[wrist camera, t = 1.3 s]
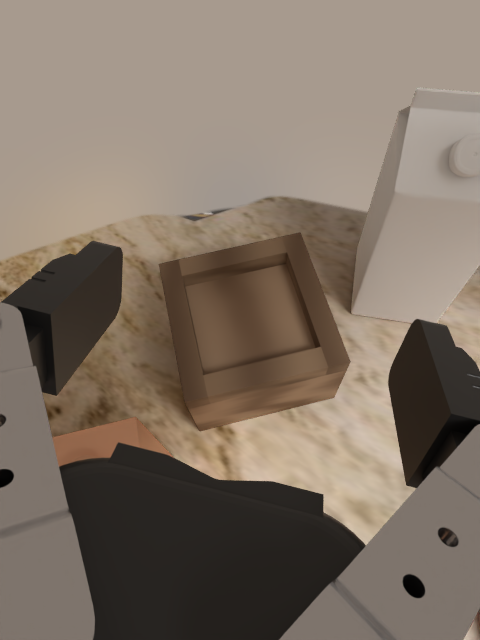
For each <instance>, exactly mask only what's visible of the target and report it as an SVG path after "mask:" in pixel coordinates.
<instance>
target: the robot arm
mask: <svg viewBox="0 0 480 640" xmlns="http://www.w3.org/2000/svg"><path fill="white" fill-rule="evenodd" d="M122 262H123V254H122V250H121V248H120V247H117V246H112V245H108V244H104V243H100V242H95V241H92V242H90V243H89V244H88V245H87V246H86V247H84V248H83V249H82V250H81V251H80V252H79V253H78V254H76V255H73V254H68V255H65V256H62V257H60V258H57V259H54V260H52V261H51V262H50V263H48V264H47V265H46V266H45V267H44V268H42V269H41V272H40V271H39V272H37V273H36V274H35V275H34V276H33V277H32V279H29V280H28V281H26V282H25V283H24V284H23V285H22V286H20V287H19V288H18V289H17V290H15V291H14V292H13V293H12V294H11V295H9V296H8V297H7V298H6V299H4V300H3V301H2V302H0V640H463V639H464V637H465V635H466V633H467V631H468V630H469V628H470V626H471V624H472V622H473V620H474V618H475V616H476V615H477V613H478V611H479V609H480V371H479V369H478V367H477V364H476V362H475V361H474V360H473V359H472V358H471V357H470V356H469V355H468V354H467V353H466V352H465V351H464V350H463V349H462V348H458V347H456V346H455V344H454V341H453V339H452V336H451V334H450V332H449V329H448V327H447V326H445V325H442V324H438V323H433V322H429V321H425V320H421V319H416V320H414V322H413V323H412V324H411V326H410V328H409V330H408V332H407V334H406V336H405V338H404V341H403V343H402V345H401V347H400V349H399V351H398V353H397V355H396V357H395V359H394V361H393V364H392V366H391V369H390V373H389V381H388V385H389V391H390V397H391V403H392V408H393V414H394V419H395V425H396V431H397V436H398V442H399V447H400V453H401V459H402V464H403V470H404V475H405V481H406V485H407V486H411V487H415V488H417V489H416V490H415V491H414V492H413V493H412V494H411V496H410V497H409V498H408V499H407V500H406V501H405V502H404V503H403V505H402V506H401V507H400V508H399V509H398V510H397V511H396V512H395V514H394V515H393V516H392V517H391V518H390V519H389V520H388V522H387V523H386V524H385V525H384V526H383V527H382V528H381V529H380V531H379V532H378V533H377V534H376V535H375V536H374V537H373V538H372V540H371V541H370V542H369V543H368V544H367V545H365V544H364V543H363V542H362V541H361V540H360V539H359V538H358V537H357V536H356V535H355V534H354V533H353V532H352V531H351V530H349V529H348V528H347V527H345V526H344V525H343V524H342V523H340V522H339V521H337V520H336V519H334V518H333V517H331V516H329V515H327V514H326V513H324V512H323V494H319V493H315V492H311V491H307V490H303V489H300V488H296V487H292V486H288V485H284V484H280V483H276V482H271V481H232V480H218V479H214V478H212V477H210V476H208V475H206V474H204V473H202V472H200V471H198V470H196V469H194V468H192V467H190V466H189V465H187V464H185V463H183V462H181V461H179V460H177V459H175V458H173V457H171V456H169V455H166V454H163V453H159V452H155V451H151V450H147V449H143V448H139V447H135V446H131V445H127V444H123V443H119V442H118V444H117V445H116V447H115V449H114V451H113V453H112V455H111V457H110V458H91V459H85V460H79V461H75V462H72V463H68V464H65V465H62V466H59V465H58V461H57V456H56V452H55V447H54V443H53V439H52V434H51V430H50V425H49V421H48V417H47V412H46V408H45V403H44V399H43V395H42V392H44V393H48V394H52V395H56V396H57V395H58V393H59V392H60V391H61V389H62V388H63V387H64V385H65V384H66V383H67V381H68V380H69V379H70V377H71V376H72V375H73V373H74V372H75V371H76V369H77V368H78V367H79V365H80V364H81V363H82V361H83V360H84V359H85V357H86V356H87V355H88V353H89V352H90V351H91V349H92V348H93V347H94V345H95V344H96V343H97V341H98V340H99V339H100V337H101V336H102V335H103V333H104V332H105V331H106V329H107V328H108V327H109V325H110V324H111V323H112V321H113V320H114V319H115V317H116V315H117V313H118V310H119V307H120V303H121V293H122Z"/></svg>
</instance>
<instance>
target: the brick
mask: <svg viewBox="0 0 480 640" xmlns="http://www.w3.org/2000/svg"><path fill="white" fill-rule="evenodd" d="M52 439H53V443H54V447H55V452H56V456H57V461H58V465H59V466H62V465H65V464H68V463H72V462H75V461H79V460H85V459H91V458H110V457H111V455H112V453H113V451H114V449H115V447H116V445H117V444H118V442H119V443H123V444H127V445H131V446H135V447H139V448H143V449H147V450H151V451H155V452H159V453H163V454H166V455H169V456H171V457H173V456H172V455H171V454H170V453H169V452H168V451H167V450H166V449H165V448H164V447H163V446H162V444H161V443H160V442H159V441H158V440H157V439H156V438H155V437H154V436H153V435H152V434H151V433H150V432H149V431H148V429H147V428H146V427H145V426H144V425H143V424H142V423H141V422H140V421H139V420H138V419H137V418H136V417H133V418H129V419H125V420H120V421H116V422H112V423H108V424H104V425H100V426H96V427H92V428H88V429H84V430H80V431H76V432H72V433H67V434H63V435H59V436H55V437H52ZM173 458H174V457H173Z"/></svg>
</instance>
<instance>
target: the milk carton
mask: <svg viewBox="0 0 480 640" xmlns="http://www.w3.org/2000/svg"><path fill="white" fill-rule="evenodd" d="M479 266H480V93H479V92H467V91H454V90H441V89H429V88H416V91H415V94H414V97H413V100H412V103H411V106H409V107H407V108H405V109H403V110H401V111H399V113H398V116H397V120H396V123H395V126H394V129H393V132H392V136H391V139H390V142H389V146H388V149H387V152H386V155H385V159H384V162H383V165H382V169H381V172H380V175H379V178H378V182H377V185H376V188H375V191H374V195H373V198H372V201H371V204H370V208H369V211H368V214H367V217H366V221H365V224H364V227H363V231H362V234H361V237H360V240H359V244H358V247H357V253H356V263H355V274H354V284H353V294H352V305H351V313H352V314H354V315H361V316H367V317H374V318H381V319H387V320H394V321H401V322H408V323H413V322H414V320H416V319H421V320H425V321H429V322H433V323H437V322H438V320H439V319H440V318H441V316H442V315H443V314H444V312H445V311H446V310H447V308H448V307H449V306H450V304H451V303H452V302H453V300H454V299H455V298H456V296H457V295H458V294H459V292H460V291H461V290H462V288H463V287H464V286H465V284H466V283H467V282H468V280H469V279H470V278H471V276H472V275H473V274H474V272H475V271H476V270H477V268H478V267H479Z"/></svg>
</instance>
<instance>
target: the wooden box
mask: <svg viewBox="0 0 480 640" xmlns="http://www.w3.org/2000/svg"><path fill="white" fill-rule="evenodd" d="M159 267H160V273H161V278H162V283H163V289H164V294H165V299H166V305H167V310H168V316H169V321H170V326H171V332H172V337H173V342H174V348H175V353H176V358H177V364H178V369H179V375H180V380H181V385H182V391H183V396H184V401H185V404H186V406H187V408H188V410H189V412H190V414H191V415H192V417H193V419H194V421H195V423H196V425H197V427H198V429H199V431H203V430H207V429H211V428H215V427H219V426H223V425H227V424H231V423H235V422H239V421H243V420H247V419H251V418H255V417H259V416H263V415H267V414H271V413H275V412H279V411H283V410H287V409H291V408H295V407H299V406H303V405H306V404H310V403H314V402H318V401H322V400H326V399H330V398H334V397H335V395H336V392H337V390H338V388H339V386H340V384H341V381H342V379H343V377H344V375H345V373H346V370H347V368H348V366H349V364H350V360H349V357H348V354H347V352H346V349H345V347H344V344H343V342H342V339H341V336H340V334H339V331H338V329H337V326H336V323H335V321H334V318H333V316H332V313H331V311H330V308H329V305H328V303H327V300H326V298H325V295H324V292H323V290H322V287H321V285H320V282H319V279H318V277H317V274H316V272H315V269H314V267H313V264H312V261H311V259H310V256H309V254H308V251H307V248H306V246H305V243H304V241H303V238H302V235H301V233H296V234H292V235H287V236H283V237H278V238H274V239H269V240H265V241H260V242H256V243H251V244H247V245H242V246H238V247H233V248H229V249H224V250H220V251H215V252H211V253H206V254H202V255H197V256H193V257H188V258H184V259H179V260H175V261H170V262H166V263H161V264H159Z"/></svg>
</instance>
